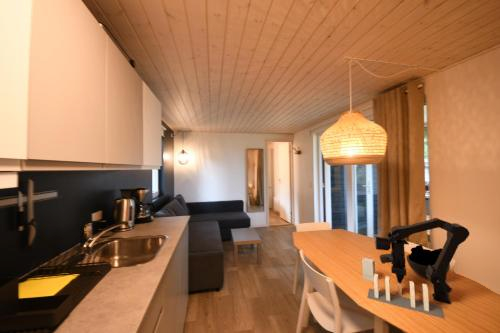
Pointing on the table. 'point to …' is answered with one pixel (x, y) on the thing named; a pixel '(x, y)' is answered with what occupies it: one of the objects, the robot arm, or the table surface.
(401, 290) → the domino
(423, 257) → the bowl of black rocks
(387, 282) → the domino
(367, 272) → the skincare box
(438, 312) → the domino mat
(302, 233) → the table surface
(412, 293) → the domino
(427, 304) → the domino
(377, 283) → the domino
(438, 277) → the robot arm
